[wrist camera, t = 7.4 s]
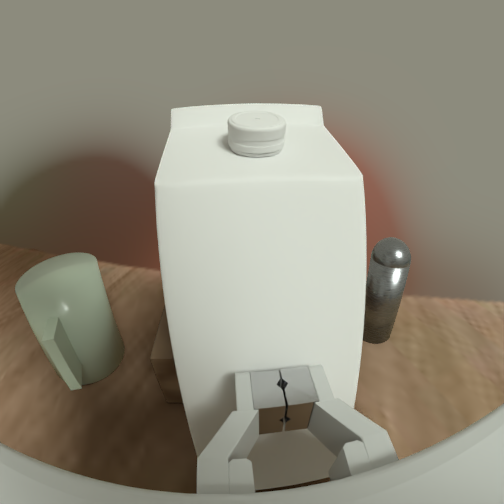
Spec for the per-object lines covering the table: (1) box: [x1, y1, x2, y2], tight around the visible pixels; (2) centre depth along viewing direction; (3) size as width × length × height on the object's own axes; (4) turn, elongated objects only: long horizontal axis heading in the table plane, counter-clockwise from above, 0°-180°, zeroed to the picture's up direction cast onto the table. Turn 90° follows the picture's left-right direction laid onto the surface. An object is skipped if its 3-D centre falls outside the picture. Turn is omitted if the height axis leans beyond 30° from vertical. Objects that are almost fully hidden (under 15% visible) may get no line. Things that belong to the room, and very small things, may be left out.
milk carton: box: [154, 104, 366, 490], centre depth 13 cm, size 7×7×19 cm
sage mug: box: [15, 253, 124, 390], centre depth 19 cm, size 8×11×9 cm
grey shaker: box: [363, 237, 411, 344], centre depth 23 cm, size 4×4×10 cm
